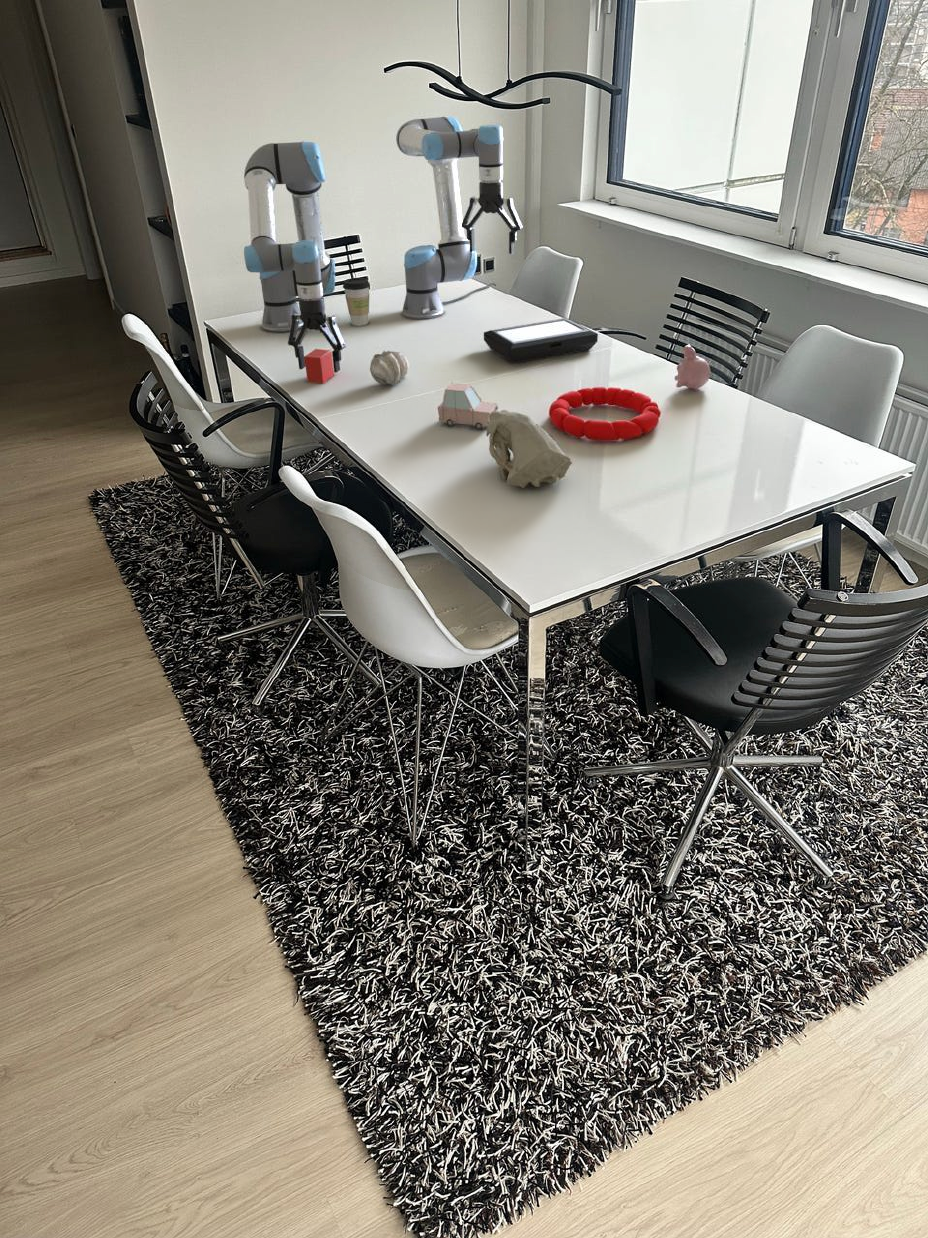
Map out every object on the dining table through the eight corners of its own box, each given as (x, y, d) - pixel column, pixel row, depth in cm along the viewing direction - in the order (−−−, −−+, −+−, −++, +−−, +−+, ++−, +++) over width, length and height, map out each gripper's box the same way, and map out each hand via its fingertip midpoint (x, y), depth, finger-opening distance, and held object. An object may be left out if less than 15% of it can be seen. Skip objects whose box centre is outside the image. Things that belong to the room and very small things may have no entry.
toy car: (488, 432, 240) (488, 396, 234) (436, 426, 244) (434, 390, 239) (499, 419, 247) (499, 384, 241) (448, 413, 252) (447, 379, 246)
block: (307, 381, 277) (304, 356, 273) (318, 373, 283) (315, 348, 278) (323, 383, 276) (320, 357, 271) (334, 375, 281) (331, 350, 277)
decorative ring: (589, 435, 224) (684, 402, 234) (527, 398, 247) (617, 369, 256) (589, 461, 229) (683, 427, 238) (529, 422, 251) (617, 393, 260)
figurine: (665, 387, 264) (669, 347, 257) (693, 380, 268) (698, 340, 261) (686, 396, 257) (690, 355, 250) (714, 388, 262) (720, 348, 255)
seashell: (362, 383, 274) (359, 351, 268) (406, 374, 280) (403, 342, 274) (376, 393, 267) (373, 360, 261) (420, 383, 272) (418, 351, 267)
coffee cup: (372, 326, 323) (368, 283, 314) (345, 327, 323) (340, 284, 315) (374, 318, 331) (371, 276, 322) (348, 319, 331) (344, 277, 323)
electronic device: (510, 346, 280) (483, 329, 295) (510, 365, 283) (483, 348, 299) (598, 331, 290) (567, 315, 305) (597, 350, 294) (567, 334, 309)
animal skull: (496, 517, 219) (521, 479, 201) (463, 429, 225) (484, 384, 207) (557, 503, 225) (586, 465, 206) (523, 417, 231) (549, 373, 212)
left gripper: (269, 298, 266) (280, 370, 278) (341, 303, 259) (349, 376, 271) (281, 291, 272) (291, 362, 284) (352, 296, 265) (359, 368, 277)
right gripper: (449, 181, 283) (452, 252, 295) (525, 183, 275) (524, 256, 287) (457, 177, 288) (459, 247, 300) (532, 179, 281) (531, 250, 293)
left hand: (319, 369), depth 278 cm, fingers open, 11 cm apart
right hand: (491, 251), depth 294 cm, fingers open, 13 cm apart
